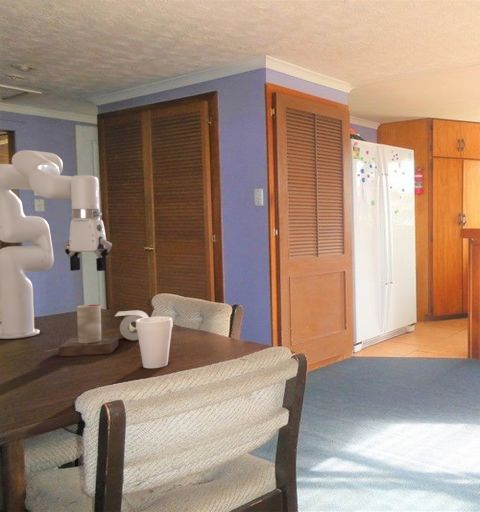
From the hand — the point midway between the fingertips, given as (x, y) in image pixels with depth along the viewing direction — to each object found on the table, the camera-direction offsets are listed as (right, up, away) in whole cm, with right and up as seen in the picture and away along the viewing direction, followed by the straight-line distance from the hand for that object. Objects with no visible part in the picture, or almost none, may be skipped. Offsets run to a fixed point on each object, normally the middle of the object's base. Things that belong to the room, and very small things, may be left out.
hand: (88, 270), depth 164 cm
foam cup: (+28, -26, -16) cm, 42 cm away
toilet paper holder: (+7, -24, +20) cm, 32 cm away
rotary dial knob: (0, -22, +1) cm, 22 cm away
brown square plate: (0, -25, +1) cm, 25 cm away
